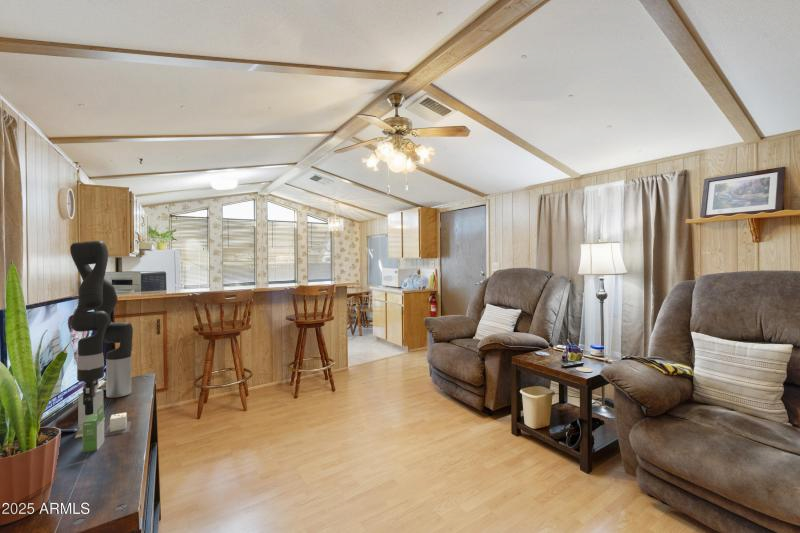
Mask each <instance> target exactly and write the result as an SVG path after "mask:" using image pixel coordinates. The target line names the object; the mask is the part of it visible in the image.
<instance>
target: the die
mask: <svg viewBox="0 0 800 533" xmlns="http://www.w3.org/2000/svg"><path fill="white" fill-rule="evenodd" d="M127 422H128V413H127V412H120V413H114V414H111V416H110V419H109V425H110V432H111V431H116V430H122V429H126V425H127Z"/></svg>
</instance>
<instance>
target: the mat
mask: <svg viewBox="0 0 800 533" xmlns="http://www.w3.org/2000/svg"><path fill="white" fill-rule="evenodd" d="M131 424H132V421H131V420H130V421H127V425H126V429H122V430H116V431H111V432H110V424H108V425H107V428H106V431H105V432H104V437H107V436H113V435H119V434H123V433H125V434H126V433H129V432H130V429H131Z"/></svg>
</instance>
